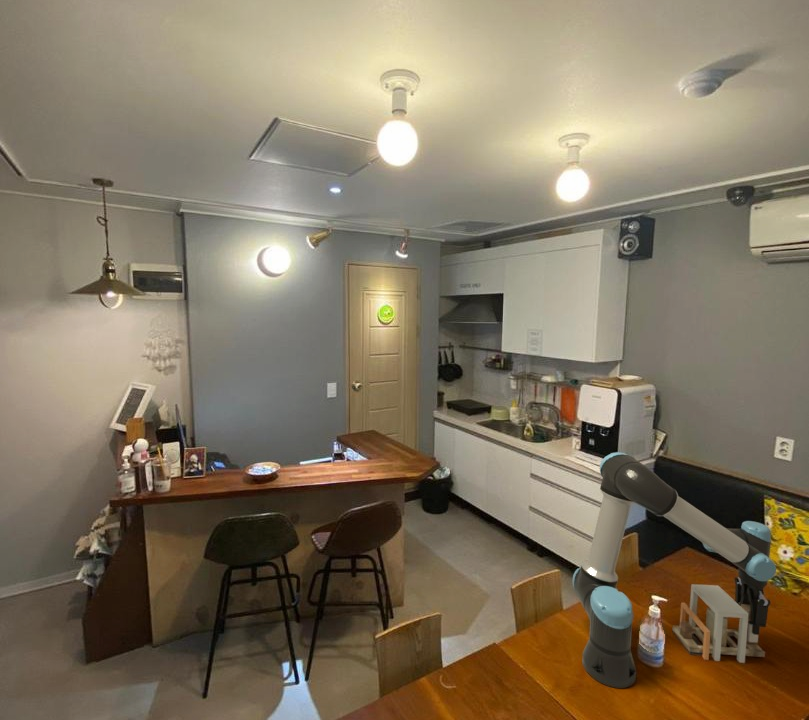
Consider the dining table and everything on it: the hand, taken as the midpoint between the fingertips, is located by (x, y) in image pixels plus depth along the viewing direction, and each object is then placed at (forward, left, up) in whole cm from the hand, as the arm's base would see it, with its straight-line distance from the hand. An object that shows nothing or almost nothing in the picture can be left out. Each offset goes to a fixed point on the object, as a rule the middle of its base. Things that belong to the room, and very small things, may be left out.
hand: (748, 636), depth 145 cm
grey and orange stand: (-12, 0, -4) cm, 12 cm away
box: (-10, 0, -4) cm, 11 cm away
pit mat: (-18, 0, -4) cm, 19 cm away
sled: (-10, 0, -4) cm, 10 cm away
